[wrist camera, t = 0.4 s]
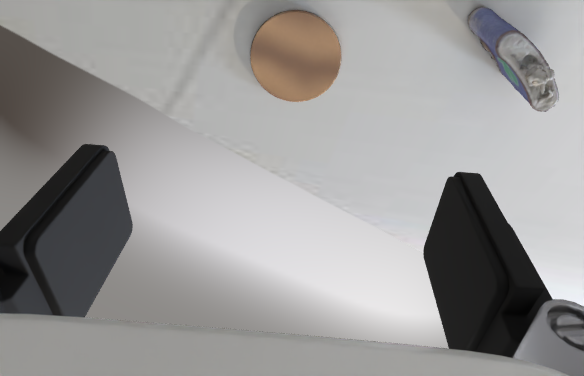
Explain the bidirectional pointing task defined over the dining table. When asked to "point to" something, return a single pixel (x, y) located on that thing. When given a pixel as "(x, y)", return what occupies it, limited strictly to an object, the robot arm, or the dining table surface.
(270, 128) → the dining table surface
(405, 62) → the dining table surface
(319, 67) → the cork coaster
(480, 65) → the dining table surface
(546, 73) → the flask
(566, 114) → the dining table surface
